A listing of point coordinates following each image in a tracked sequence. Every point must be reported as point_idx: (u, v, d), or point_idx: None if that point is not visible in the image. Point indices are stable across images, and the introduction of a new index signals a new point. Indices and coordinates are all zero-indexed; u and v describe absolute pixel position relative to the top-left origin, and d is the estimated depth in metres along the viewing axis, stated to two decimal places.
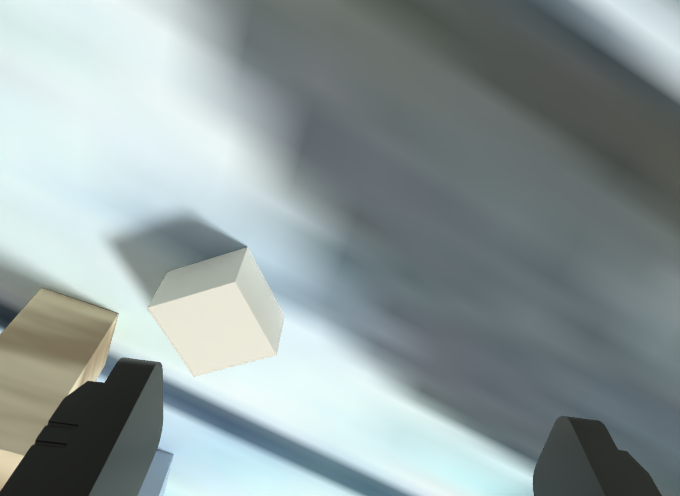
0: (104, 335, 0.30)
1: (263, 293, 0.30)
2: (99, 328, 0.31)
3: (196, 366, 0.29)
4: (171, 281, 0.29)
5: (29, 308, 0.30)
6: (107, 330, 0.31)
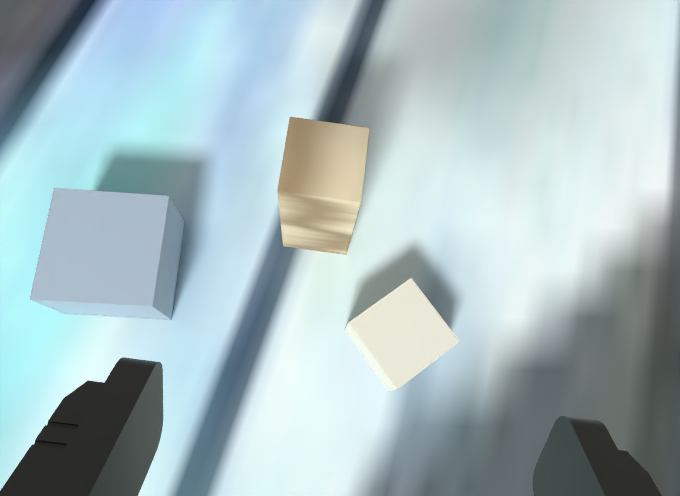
0: (347, 246, 0.37)
1: None
2: None
3: (361, 323, 0.34)
4: None
5: None
6: (347, 247, 0.37)
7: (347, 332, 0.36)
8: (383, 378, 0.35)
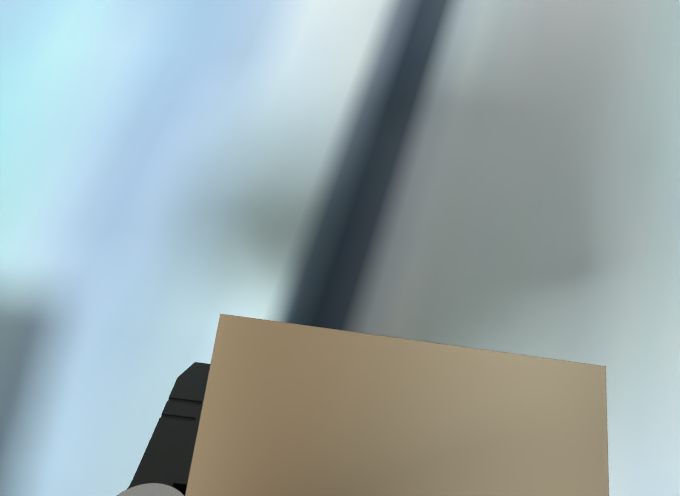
0: None
1: None
2: None
3: None
4: None
5: None
6: None
7: None
8: None
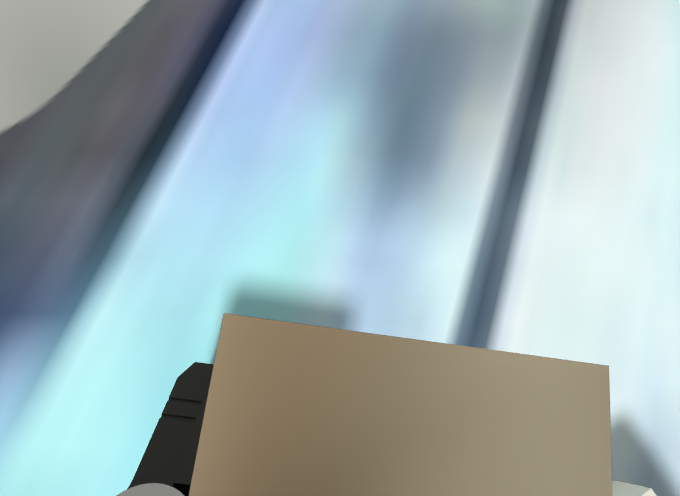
0: None
1: None
2: None
3: None
4: None
5: None
6: None
7: None
8: None
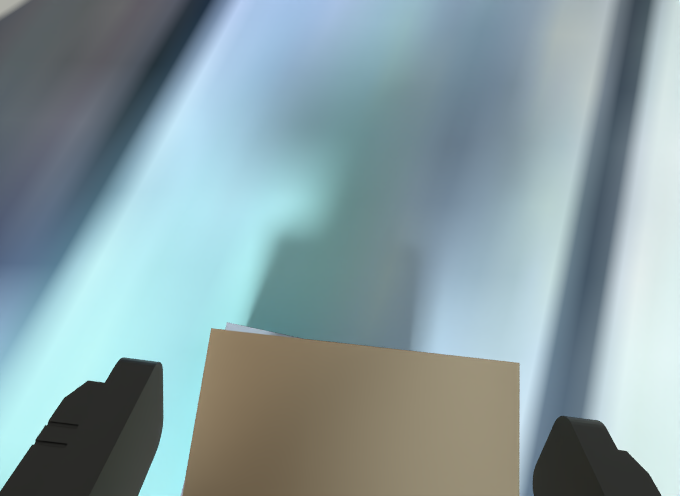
0: None
1: None
2: None
3: None
4: None
5: None
6: None
7: None
8: None
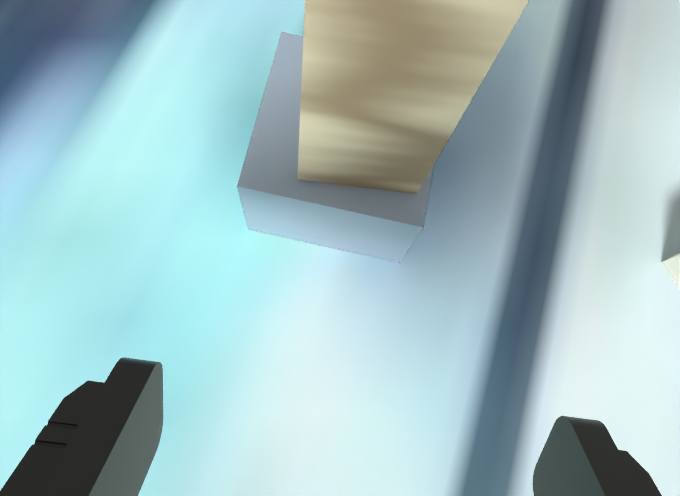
0: (428, 170, 0.18)
1: None
2: None
3: None
4: None
5: None
6: (425, 176, 0.19)
7: (670, 264, 0.25)
8: None
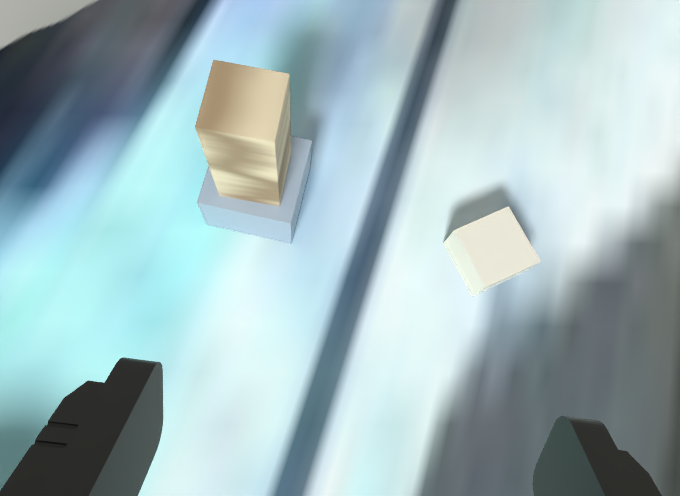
0: (278, 195, 0.38)
1: (503, 281, 0.43)
2: (280, 192, 0.38)
3: (464, 232, 0.42)
4: None
5: (290, 144, 0.39)
6: (278, 198, 0.38)
7: (446, 244, 0.45)
8: (472, 282, 0.43)
